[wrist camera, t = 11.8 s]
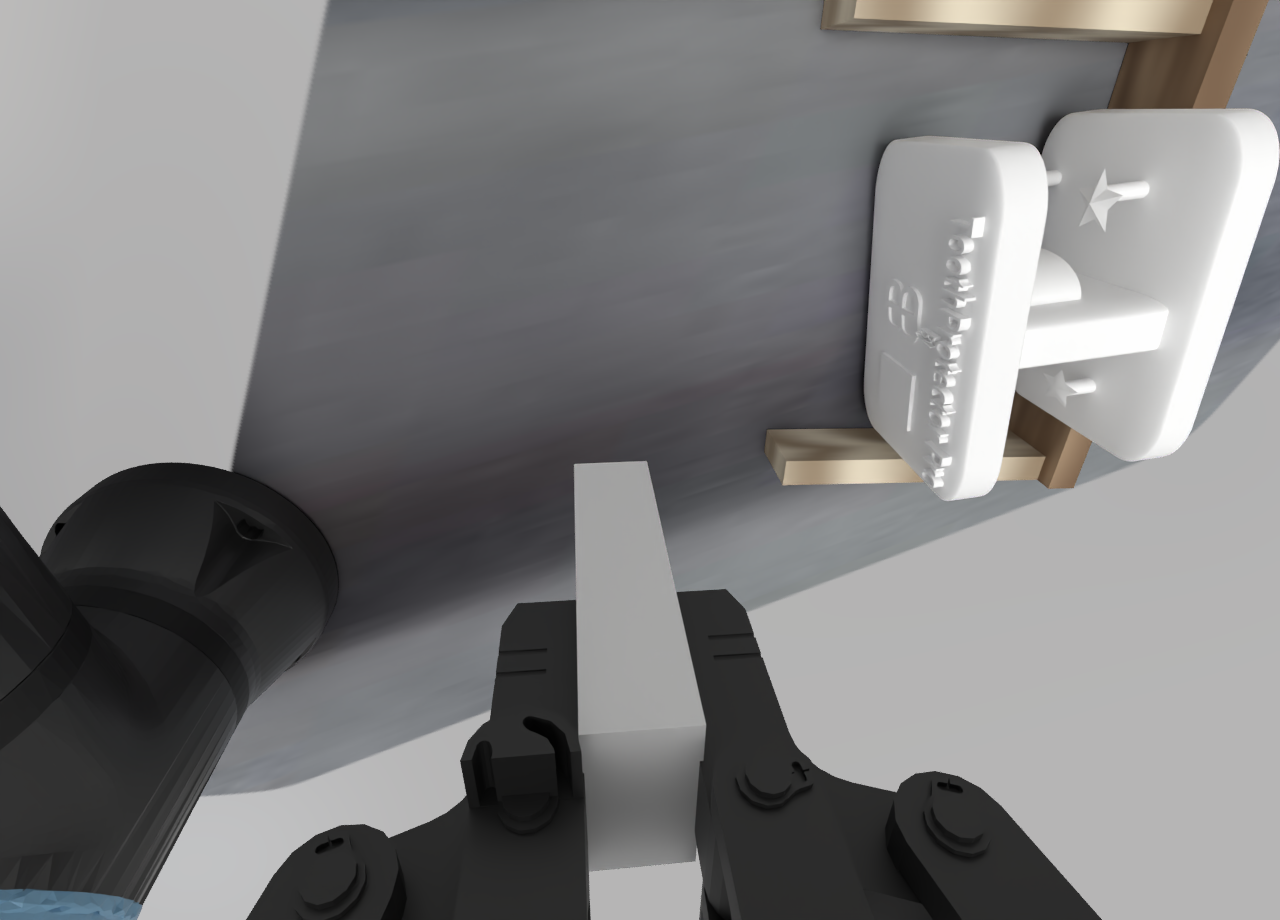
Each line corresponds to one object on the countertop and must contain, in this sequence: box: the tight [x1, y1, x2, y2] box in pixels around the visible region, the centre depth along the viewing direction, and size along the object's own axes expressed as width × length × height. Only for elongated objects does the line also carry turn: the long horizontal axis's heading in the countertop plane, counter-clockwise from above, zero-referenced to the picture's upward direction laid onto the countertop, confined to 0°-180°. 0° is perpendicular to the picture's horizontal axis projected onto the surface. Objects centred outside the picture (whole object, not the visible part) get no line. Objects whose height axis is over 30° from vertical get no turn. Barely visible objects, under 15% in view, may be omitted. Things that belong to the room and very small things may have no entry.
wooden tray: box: [764, 0, 1269, 489], centre depth 32 cm, size 16×23×5 cm
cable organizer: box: [864, 109, 1280, 501], centre depth 30 cm, size 15×11×12 cm
